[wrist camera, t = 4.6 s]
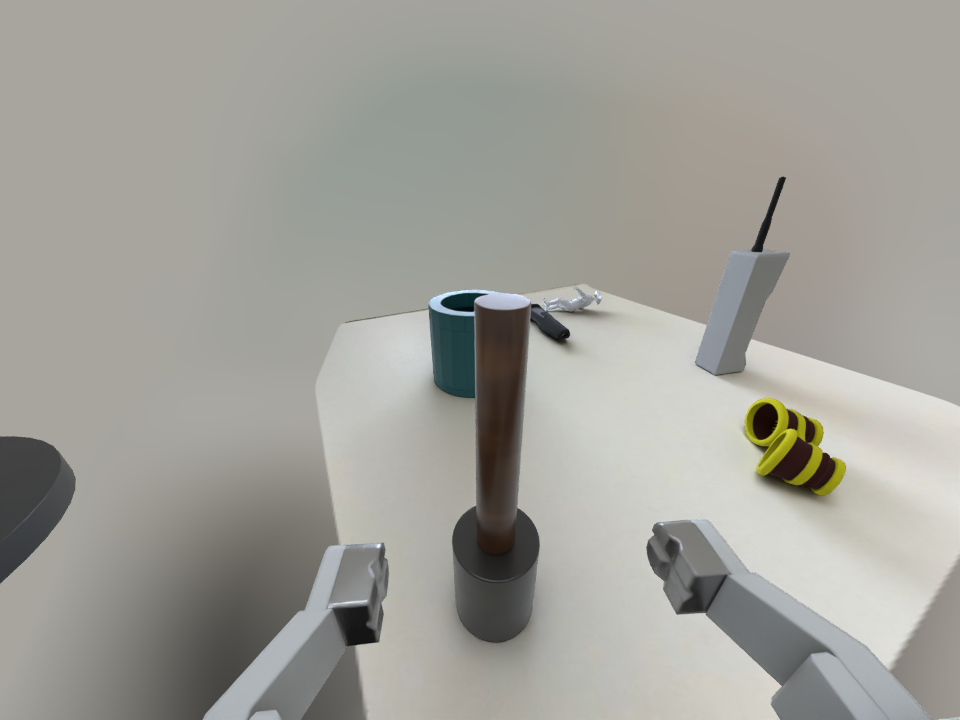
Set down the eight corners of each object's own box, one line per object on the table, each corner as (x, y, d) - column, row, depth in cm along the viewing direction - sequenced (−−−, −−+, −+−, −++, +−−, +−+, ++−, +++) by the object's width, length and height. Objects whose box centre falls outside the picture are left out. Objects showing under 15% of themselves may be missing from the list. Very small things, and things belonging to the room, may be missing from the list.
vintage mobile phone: (743, 372, 49) (821, 176, 38) (714, 376, 48) (786, 175, 37) (721, 360, 52) (787, 177, 41) (694, 364, 51) (754, 176, 40)
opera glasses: (820, 512, 29) (865, 474, 26) (750, 481, 30) (786, 442, 28) (790, 444, 36) (823, 409, 34) (736, 422, 38) (763, 387, 35)
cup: (445, 404, 42) (440, 320, 37) (427, 365, 51) (421, 294, 46) (525, 388, 45) (530, 309, 40) (494, 354, 54) (496, 287, 49)
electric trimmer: (553, 347, 57) (555, 329, 56) (521, 316, 71) (522, 301, 69) (573, 344, 58) (576, 327, 57) (538, 314, 71) (539, 300, 70)
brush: (469, 657, 19) (458, 332, 10) (447, 573, 23) (425, 290, 14) (546, 623, 21) (597, 313, 12) (512, 550, 25) (530, 280, 16)
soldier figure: (540, 310, 77) (588, 291, 77) (549, 328, 76) (598, 309, 76) (543, 294, 70) (597, 273, 70) (553, 314, 68) (608, 292, 68)
